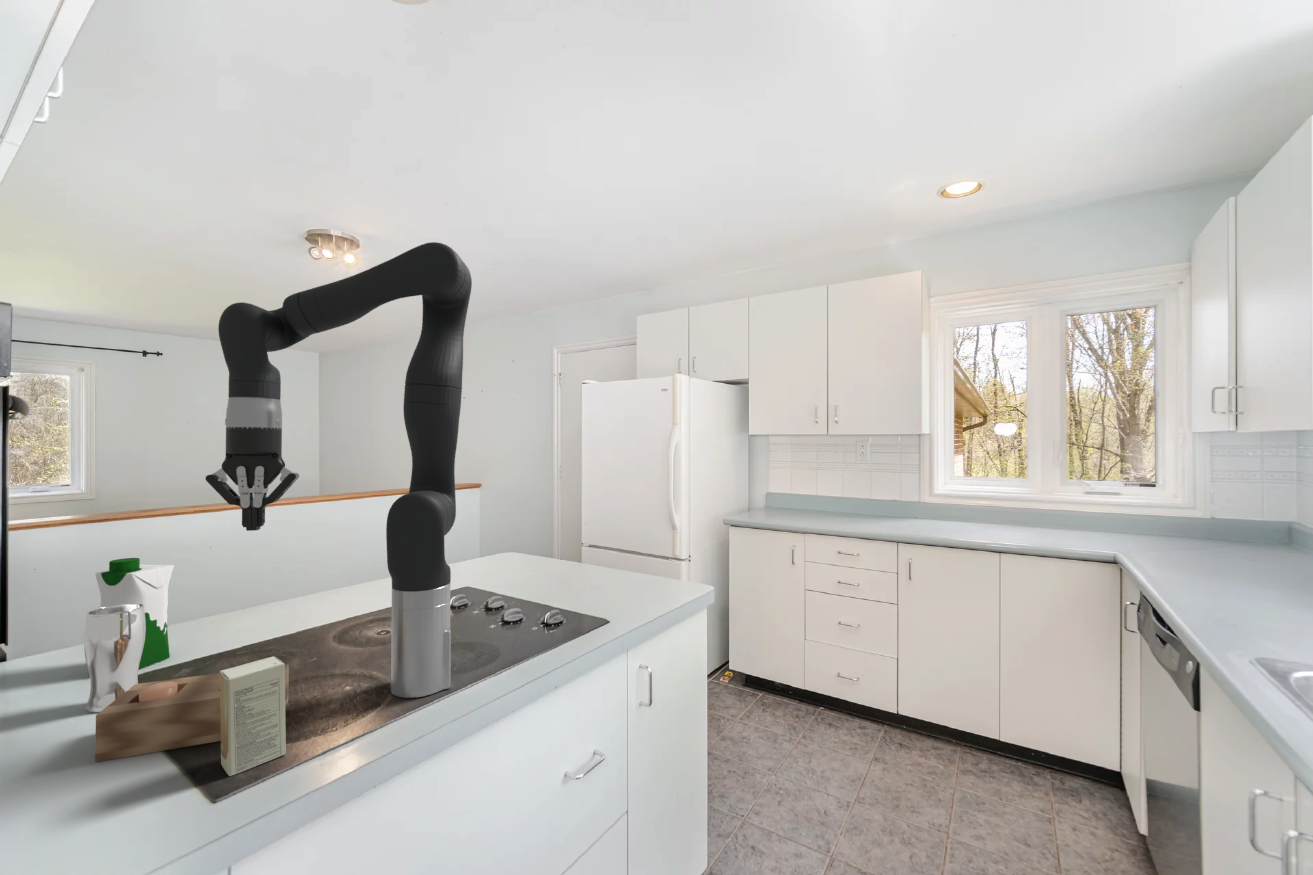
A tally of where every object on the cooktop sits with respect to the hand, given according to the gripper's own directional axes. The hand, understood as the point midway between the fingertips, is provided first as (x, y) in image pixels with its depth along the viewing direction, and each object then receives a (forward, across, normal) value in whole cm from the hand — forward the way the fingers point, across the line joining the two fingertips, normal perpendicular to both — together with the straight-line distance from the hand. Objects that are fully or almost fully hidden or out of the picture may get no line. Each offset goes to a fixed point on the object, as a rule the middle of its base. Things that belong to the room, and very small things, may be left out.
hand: (253, 529), depth 90 cm
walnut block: (+27, +3, +11) cm, 29 cm away
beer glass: (+27, +19, -4) cm, 33 cm away
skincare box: (+27, -6, +23) cm, 36 cm away
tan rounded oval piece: (+25, +8, +11) cm, 28 cm away
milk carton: (+27, +24, -23) cm, 43 cm away
